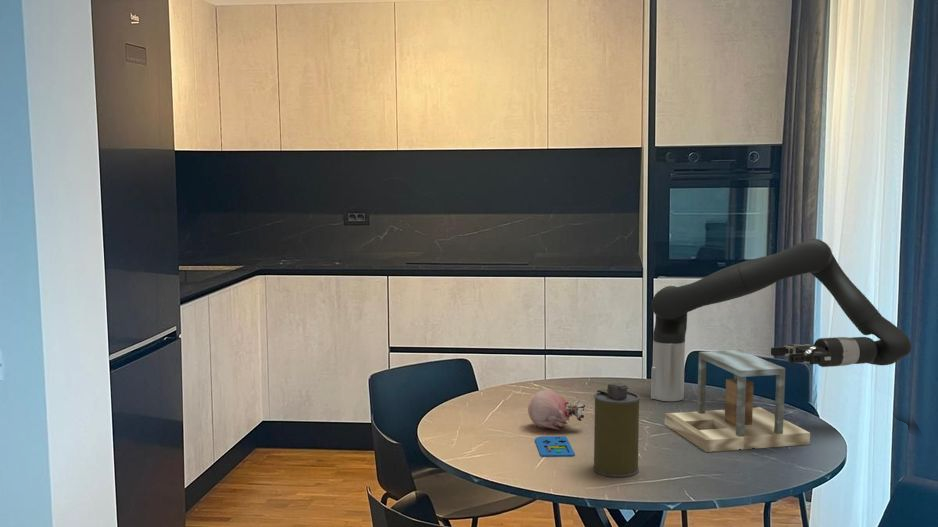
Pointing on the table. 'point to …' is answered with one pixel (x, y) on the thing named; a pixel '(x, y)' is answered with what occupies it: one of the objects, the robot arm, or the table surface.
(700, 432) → the tunnel deck
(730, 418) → the walnut block
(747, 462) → the table surface
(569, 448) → the handheld gaming device
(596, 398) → the canister
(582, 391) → the table surface
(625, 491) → the table surface
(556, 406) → the toy
